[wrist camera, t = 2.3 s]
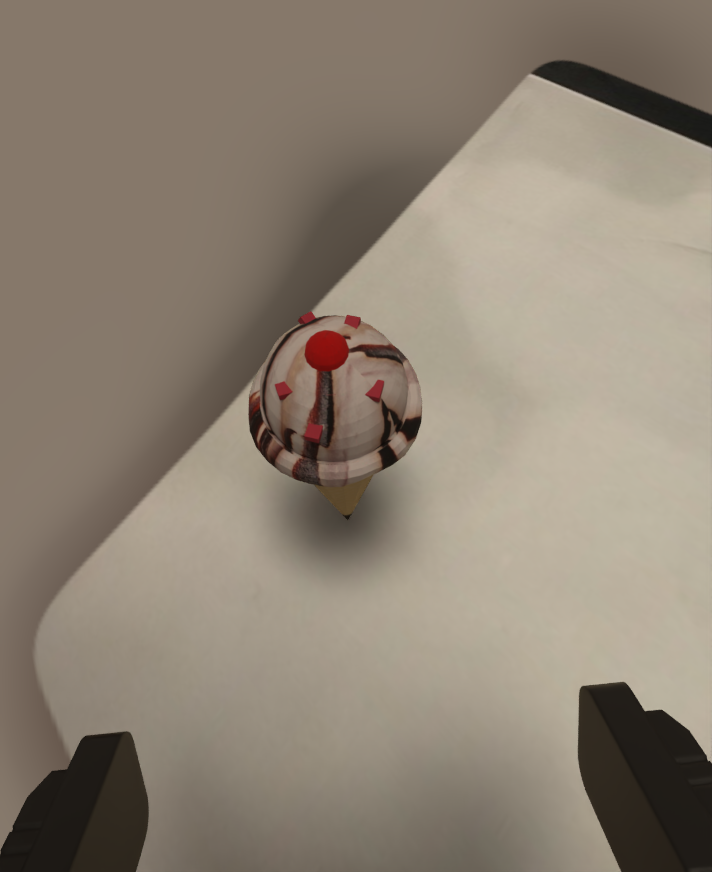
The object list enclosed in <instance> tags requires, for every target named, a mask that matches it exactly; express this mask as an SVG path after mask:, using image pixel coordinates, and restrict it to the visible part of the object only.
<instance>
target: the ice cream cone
mask: <svg viewBox="0 0 712 872" xmlns="http://www.w3.org/2000/svg"><path fill="white" fill-rule="evenodd" d="M298 321H299V323H300V324H299V325H297V326H295V327H294V328H292V329H290V330H289V331H288V332H286V333H285V334H283V335H282V336H281V337H280V338H279V339H278V341H277V342H276V343H275V345H274V347H273V348H272V350H271V351H270V353H269V355H268V357H267V358H266V360H265V362H264V363H263V365H262V366H261V368H260V369H259V371H258V373H257V375H256V377H255V379H254V381H253V383H252V387H251V391H250V395H249V426H250V432H251V435H252V437H253V440H254V443H255V445H256V447H257V449H258V450H259V451H260V452H261V454H262V455H263V456H264V457H265V459H266V460H267V461H268V462H269V463H270V464H272V465H273V466H274V467H275V468H277V469H278V470H279V471H280V472H281V473H283V474H286V475H288V476H290V477H292V478H294V479H296V480H299V481H303V482H306V483H310V484H314V485H315V486H316V487H317V488H318V489H319V490H320V492H321V493H322V494H323V495H324V496H325V497H326V498H327V499H328V500H329V501H330V502H331V503H332V504H333V505H334V506H335V507H336V508H337V509H338V511H339V512H340V513H341V514H342V515H343V516H344V517H345V518H346V519H347V520H348V519H349V518H350V516H351V514H352V512H353V511H354V509H355V507H356V505H357V503H358V502H359V500H360V498H361V496H362V494H363V493H364V491H365V489H366V487H367V485H368V484H369V482H370V480H371V478H372V476H373V475H374V474H376V473H377V472H379V471H381V470H383V469H385V468H387V467H389V466H391V465H393V464H394V463H395V462H397V461H398V460H399V459H401V458H402V457H403V456H405V454H406V453H407V451H408V450H409V448H410V447H411V445H412V444H413V442H414V441H415V439H416V437H417V433H418V430H419V427H420V424H421V416H422V398H421V389H420V385H419V382H418V378H417V375H416V373H415V371H414V369H413V367H412V366H411V364H410V362H409V360H408V359H407V358H406V357H405V356H404V355H403V354H402V353H401V352H400V350H399V349H397V348H396V347H395V346H393V345H392V343H391V342H390V341H389V340H388V339H387V338H386V337H385V336H384V335H383V334H381V333H380V332H379V331H377V330H376V329H375V328H373V327H372V326H370V325H369V324H367V323H364V322H362V321H361V318H360V317H355V316H350V315H347V316H346V317H345V316H322V317H318V318H315V316H314V315H313V313H312V312H309V313H307V314H305V315H303V316H302V317H300V319H299V320H298Z"/></svg>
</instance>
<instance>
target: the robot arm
mask: <svg viewBox="0 0 712 872" xmlns="http://www.w3.org/2000/svg"><path fill="white" fill-rule="evenodd" d="M578 760H579V767H580V772H581V777H582V781H583V784H584V787H585V790H586V793H587V795H588V797H589V800H590V802H591V804H592V806H593V809H594V811H595V813H596V815H597V818H598V820H599V822H600V824H601V827H602V829H603V831H604V833H605V836H606V838H607V840H608V843H609V845H610V847H611V849H612V852H613V854H614V856H615V858H616V861H617V863H618V865H619V867H620V870H621V872H712V763H711V762H710V761H708V760H707V756H706V754H705V753H704V751H703V750H702V749H701V747H700V746H699V744H698V743H697V741H696V740H695V738H694V737H693V736H692V734H691V733H690V731H689V730H688V729H687V728H685V727H684V726H683V725H681V724H680V723H679V722H677V721H676V720H675V719H673V718H672V717H671V716H670V715H668V714H667V713H666V712H664V711H663V710H654V711H644V709H643V708H642V706H641V705H640V703H639V701H638V700H637V698H636V697H635V695H634V693H633V692H632V690H631V689H630V687H629V686H628V685H627V684H626V683H625V682H617V683H607V684H598V685H588V686H582V687H581V689H580V692H579V726H578ZM148 817H149V806H148V797H147V793H146V789H145V785H144V781H143V776H142V772H141V768H140V764H139V760H138V756H137V752H136V748H135V744H134V740H133V737H132V735H131V734H130V733H129V732H127V731H126V732H117V733H107V734H97V735H87V736H85V737H83V738H82V740H81V741H80V743H79V745H78V747H77V749H76V751H75V754H74V756H73V758H72V760H71V762H70V764H69V767H68V769H67V770H58V771H52V772H51V773H50V774H49V775H48V776H47V777H46V778H45V779H44V780H43V781H42V782H41V783H40V784H39V786H37V788H36V789H35V790H34V791H33V792H32V793H31V794H30V795H29V796H28V797H27V799H26V801H25V803H24V805H23V807H22V809H21V811H20V813H19V815H18V817H17V819H16V821H15V823H14V825H13V830H12V832H10V833H9V835H8V836H7V839H6V840H5V843H4V844H3V847H2V848H1V854H0V872H136V870H137V866H138V863H139V859H140V856H141V852H142V849H143V845H144V842H145V838H146V834H147V828H148Z"/></svg>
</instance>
